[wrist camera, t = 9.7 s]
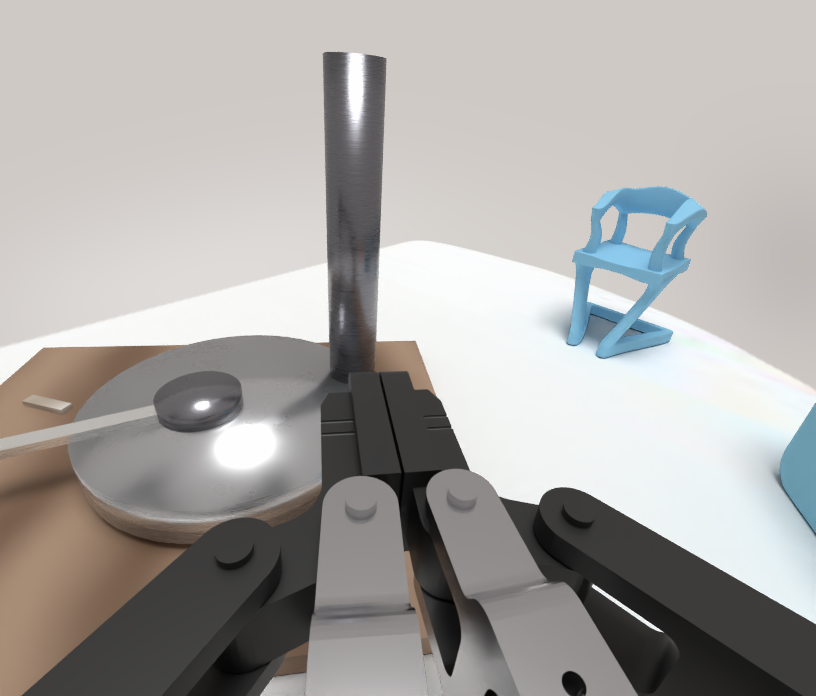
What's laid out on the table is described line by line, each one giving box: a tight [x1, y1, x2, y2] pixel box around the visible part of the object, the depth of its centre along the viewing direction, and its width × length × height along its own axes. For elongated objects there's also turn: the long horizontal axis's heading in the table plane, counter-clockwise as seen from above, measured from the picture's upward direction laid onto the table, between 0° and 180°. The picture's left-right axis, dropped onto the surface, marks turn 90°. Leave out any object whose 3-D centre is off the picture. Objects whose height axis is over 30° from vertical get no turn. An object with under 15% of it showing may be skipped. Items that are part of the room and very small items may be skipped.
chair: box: [567, 187, 707, 358], centre depth 34 cm, size 8×8×12 cm
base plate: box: [0, 341, 436, 696], centre depth 21 cm, size 24×20×1 cm
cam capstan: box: [0, 52, 386, 544], centre depth 17 cm, size 17×13×16 cm
